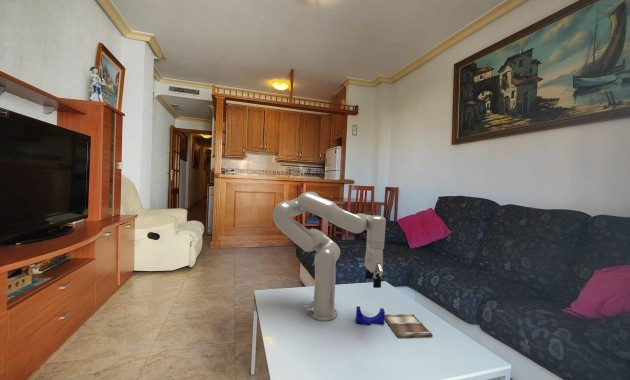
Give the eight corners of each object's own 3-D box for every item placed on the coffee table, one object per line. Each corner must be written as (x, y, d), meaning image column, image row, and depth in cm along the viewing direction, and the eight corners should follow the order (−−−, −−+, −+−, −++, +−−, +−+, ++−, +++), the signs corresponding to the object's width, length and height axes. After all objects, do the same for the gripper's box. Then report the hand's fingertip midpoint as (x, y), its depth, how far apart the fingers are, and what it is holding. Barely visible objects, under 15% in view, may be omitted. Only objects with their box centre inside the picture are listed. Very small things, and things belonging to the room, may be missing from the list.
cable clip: (356, 324, 114) (357, 311, 114) (355, 319, 119) (356, 306, 118) (384, 327, 113) (385, 313, 113) (382, 321, 118) (383, 308, 117)
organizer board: (397, 338, 105) (397, 333, 105) (383, 318, 120) (383, 314, 120) (432, 337, 107) (432, 332, 107) (414, 317, 122) (414, 313, 122)
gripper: (360, 239, 122) (358, 275, 123) (374, 249, 105) (371, 291, 105) (376, 239, 123) (374, 275, 124) (391, 249, 106) (389, 291, 106)
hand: (372, 282), depth 114 cm, fingers open, 9 cm apart
